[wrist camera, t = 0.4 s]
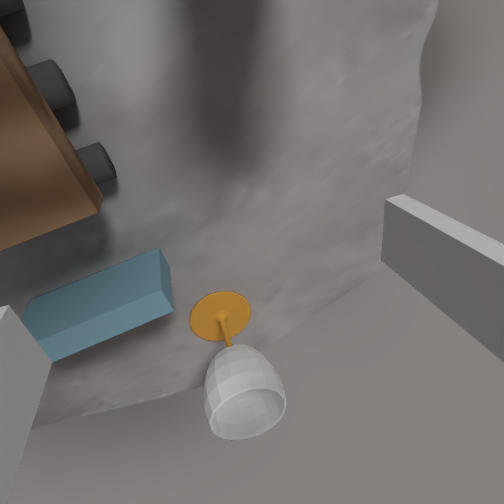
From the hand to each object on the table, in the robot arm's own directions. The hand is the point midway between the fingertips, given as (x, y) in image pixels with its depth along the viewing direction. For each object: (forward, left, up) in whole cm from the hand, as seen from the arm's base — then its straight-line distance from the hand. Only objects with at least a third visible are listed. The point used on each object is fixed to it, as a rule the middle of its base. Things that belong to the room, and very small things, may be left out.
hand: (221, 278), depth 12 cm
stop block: (+12, -15, -27) cm, 33 cm away
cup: (+25, -4, -27) cm, 37 cm away
